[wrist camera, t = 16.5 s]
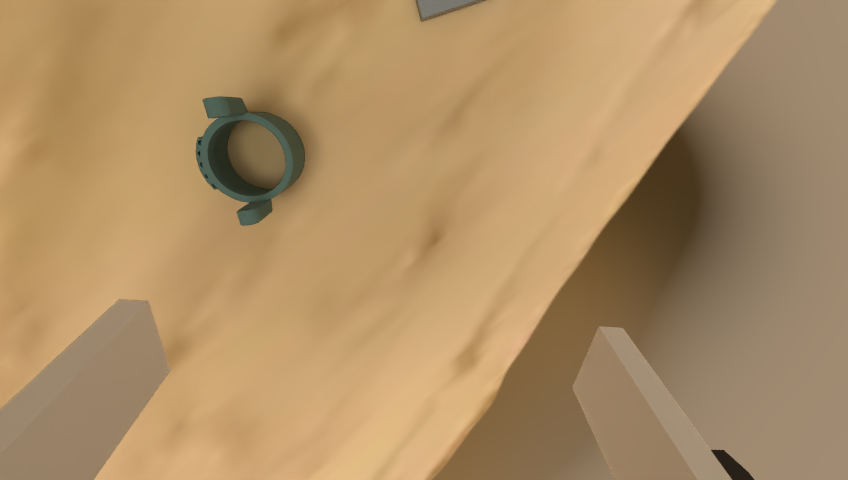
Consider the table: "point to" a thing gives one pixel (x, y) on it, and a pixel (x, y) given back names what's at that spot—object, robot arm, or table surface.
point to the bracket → (220, 169)
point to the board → (441, 7)
